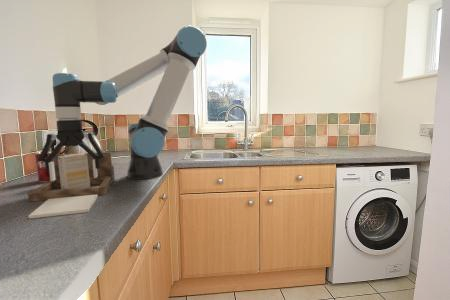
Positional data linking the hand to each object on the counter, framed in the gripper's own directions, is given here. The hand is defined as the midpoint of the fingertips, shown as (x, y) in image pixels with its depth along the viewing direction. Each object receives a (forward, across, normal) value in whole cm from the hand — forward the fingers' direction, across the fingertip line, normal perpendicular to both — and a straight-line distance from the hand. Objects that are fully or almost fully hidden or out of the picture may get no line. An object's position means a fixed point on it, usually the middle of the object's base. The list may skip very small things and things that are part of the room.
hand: (74, 178), depth 89 cm
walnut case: (+4, 0, -1) cm, 4 cm away
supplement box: (+4, 0, 0) cm, 4 cm away
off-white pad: (+4, -2, +18) cm, 19 cm away
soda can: (+4, +15, -20) cm, 25 cm away
